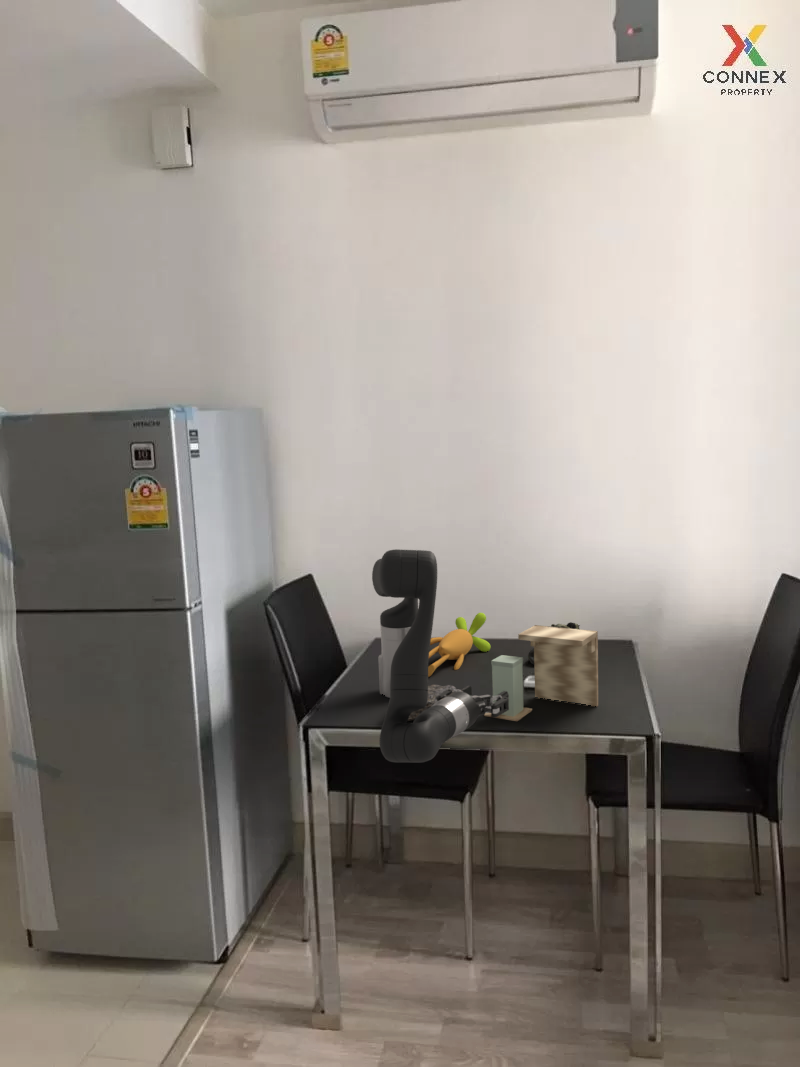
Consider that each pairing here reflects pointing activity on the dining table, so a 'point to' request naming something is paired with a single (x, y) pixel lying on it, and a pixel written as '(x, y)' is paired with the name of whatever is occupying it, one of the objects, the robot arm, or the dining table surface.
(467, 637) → the toy
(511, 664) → the tin
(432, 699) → the rock
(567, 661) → the shelf
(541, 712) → the dining table surface
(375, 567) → the robot arm
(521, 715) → the mat
